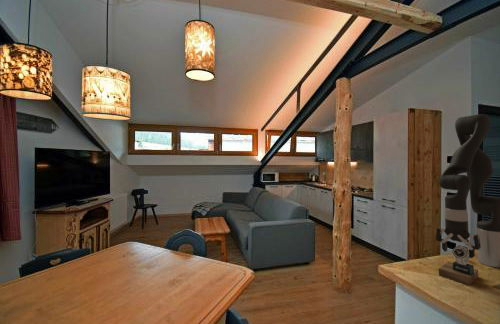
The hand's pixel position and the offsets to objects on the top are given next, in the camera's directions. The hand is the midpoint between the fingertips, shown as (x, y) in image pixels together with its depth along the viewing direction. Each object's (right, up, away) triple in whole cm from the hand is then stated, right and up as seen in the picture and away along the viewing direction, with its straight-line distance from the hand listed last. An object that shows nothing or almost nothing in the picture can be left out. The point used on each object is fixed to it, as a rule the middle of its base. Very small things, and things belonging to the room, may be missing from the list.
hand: (457, 254), depth 96 cm
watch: (+1, -7, -2) cm, 7 cm away
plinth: (0, -10, 0) cm, 10 cm away
